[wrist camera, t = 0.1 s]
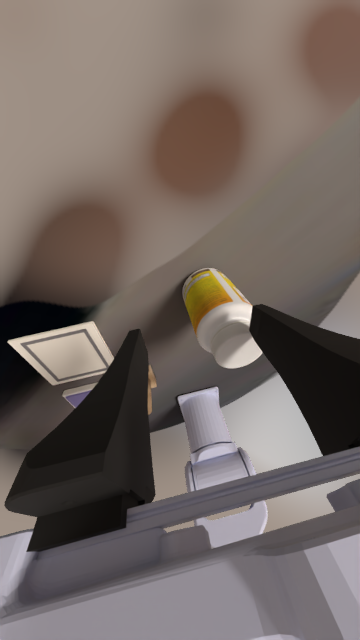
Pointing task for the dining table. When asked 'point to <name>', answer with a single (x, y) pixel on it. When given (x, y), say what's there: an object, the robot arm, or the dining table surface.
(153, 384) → the stamp
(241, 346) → the supplement bottle
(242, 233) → the dining table surface
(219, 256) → the dining table surface
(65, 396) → the ink pad
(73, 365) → the print sheet
